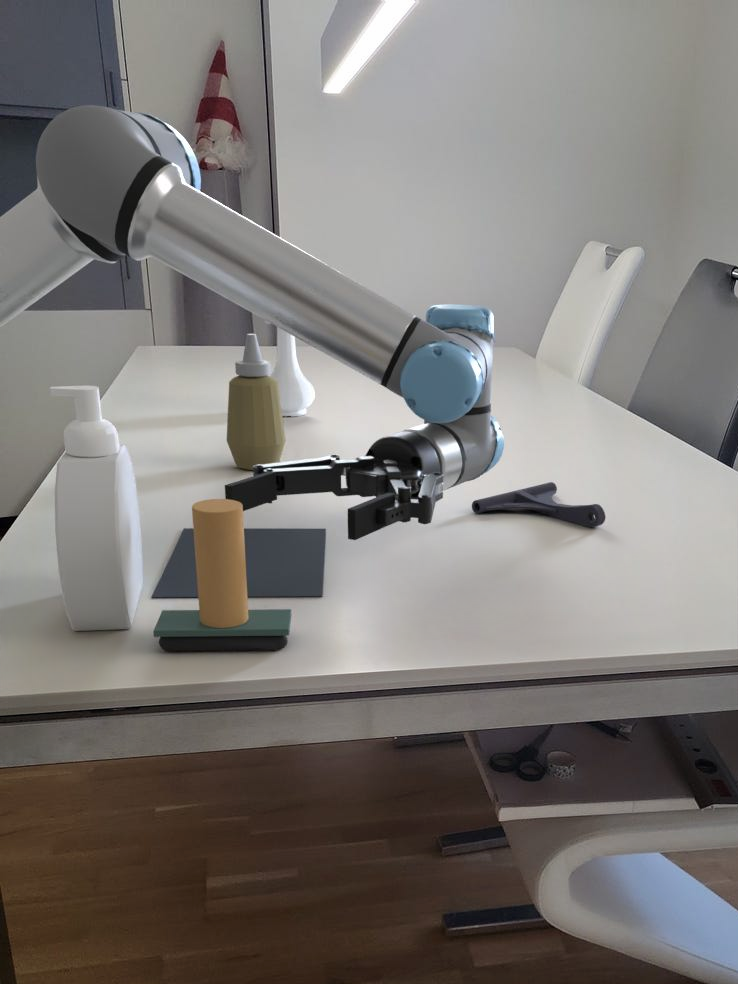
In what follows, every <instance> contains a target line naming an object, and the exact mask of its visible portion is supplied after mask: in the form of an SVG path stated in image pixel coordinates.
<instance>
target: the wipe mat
mask: <svg viewBox="0 0 738 984" xmlns="http://www.w3.org/2000/svg"><path fill="white" fill-rule="evenodd" d="M326 531H327V528H279V527H278V528H267V527H266V528H265V527H264V528H260V527H259V528H257V527H256V528H252V527H251V528H249V527H247V528H245V527H244V542H245V561H246V580H247V598H323V595H324V593H323V592H324V573H325V553H326V552H325V551H326V536H327V535H326V533H327V532H326ZM151 599H199V598H198V584H197V571H196V557H195V543H194V529H193V528H191V527H190V528H189V527H187V528H186V527H185V528H183V529H182V532H181V534H180V535H179V538H178V540H177V542H176V544H175V546H174V549H173V550H172V553H171V555H170V557H169V558H168V561H167V563H166V565H165V568H164V569H163V571H162V573H161V576H160V578H159V580H158V581H157V584H156V586H155V589H154V591H153V592H152V595H151Z"/></svg>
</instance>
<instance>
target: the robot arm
mask: <svg viewBox="0 0 738 984" xmlns="http://www.w3.org/2000/svg"><path fill="white" fill-rule="evenodd" d="M35 169H36V179H37V181H36V182H37V188H36V189H35V190H34V191H32V192H31V193H30V194H29V195H27V196H26V197H24V198H23V199H22V200H21V201H19V202H18V203H17V204H15V205H14V206H13V207H11V208H10V209H8V211H6V212H5V213H3V214H2V215H1V216H0V328H2V327H3V326H4V325H6V324H7V323H8V322H10V321H11V320H13V319H14V318H15V317H17V316H18V315H20V314H21V313H22V312H24V311H25V310H26V309H28V308H29V307H30V306H32V305H34V304H35V303H36V302H37V301H39V300H40V299H42V298H43V297H44V296H46V295H47V294H48V293H50V292H51V291H52V290H54V289H55V288H57V287H58V286H59V285H61V284H62V283H64V282H65V281H66V280H68V279H69V278H70V277H72V276H73V275H75V274H76V273H77V272H79V271H80V270H82V269H83V268H84V267H86V266H87V265H88V264H89V263H91V262H93V261H94V260H96V261H98V262H99V261H100V262H102V263H103V262H104V263H107V264H115V263H117V262H119V261H120V260H121V259H122V258H124V257H126V256H128V258H131V259H133V260H135V261H138V262H139V261H142V260H146V259H149V258H153V259H155V260H157V261H159V262H160V263H162V264H164V265H165V266H167V267H169V268H171V269H172V270H175V271H176V272H178V273H180V274H182V275H183V276H185V277H188V278H189V279H191V280H192V281H194V282H195V283H198V284H200V285H202V286H203V287H205V288H207V289H209V290H210V291H212V292H214V293H216V294H218V295H219V296H221V297H223V298H224V299H227V300H228V301H230V302H232V303H234V305H237V306H239V307H241V308H243V309H244V310H246V311H248V312H249V313H252V314H254V315H255V316H257V317H259V318H260V319H263V321H264V320H266V321H268V322H269V323H271V324H270V325H273V326H274V327H276V328H277V327H278V328H280V329H282V330H284V331H286V332H287V333H289V334H291V335H293V336H295V339H298V340H299V341H302V342H303V343H305V344H307V345H309V346H311V347H313V348H315V349H316V350H318V351H320V352H321V353H323V354H325V355H327V356H328V357H330V358H332V359H334V360H336V361H338V362H339V363H341V364H343V365H345V366H347V367H348V368H350V369H351V370H354V371H355V372H358V373H359V374H361V375H362V376H364V377H366V378H368V379H370V380H371V381H373V382H374V383H377V384H379V385H381V386H383V387H384V388H386V390H389V391H390V392H392V393H394V394H395V395H397V396H398V397H401V398H403V400H404V402H405V403H406V406H407V407H408V408H409V409H410V411H411V412H412V413H413V414H415V416H417V417H418V418H420V419H422V420H423V423H422V424H419V425H416V426H413V427H410V428H406V429H404V430H402V431H398V432H395V433H392V434H389V435H386V436H383V437H381V438H379V439H377V440H376V441H374V442H373V443H372V444H371V446H369V448H368V450H367V451H366V453H365V455H364V456H363V455H361V456H357V457H356V458H354V459H353V458H351V459H341V457H340V455H339V454H337V453H336V454H335V453H332V454H329V455H325V456H321V457H315V458H314V457H313V458H306V459H298V460H297V459H296V460H289V461H279V463H271V464H262V465H261V464H258V465H254V466H253V470H252V473H253V476H250V477H246V478H243V479H240V480H236V481H233V482H230V483H226V484H224V495H225V498H224V499H229V500H235V501H238V502H240V503H241V504H242V505H243V512H245V511H248V510H251V509H254V508H257V507H259V506H263V505H265V504H273V502H274V501H276V500H278V496H292V495H308V494H322V493H323V494H324V493H333V494H334V496H335V497H349V496H351V497H352V496H359V497H361V498H370V497H373V498H370V499H369V500H367V501H364V502H361V503H358V504H356V505H354V506H351V507H348V508H347V539H348V540H352V541H356V540H359V539H362V538H363V537H366V536H368V535H370V534H373V533H375V532H378V531H380V530H381V529H383V528H386V527H389V526H391V525H394V524H395V523H397V522H401V523H409V522H411V518H413V519H417V523H419V524H422V525H429V524H431V523H432V520H433V516H434V511H435V507H436V503H437V502H438V501H441V500H442V499H443V498H444V491H446V490H449V489H450V488H454V487H456V486H459V485H461V484H463V483H464V484H465V483H466V482H470V481H474V480H476V479H478V478H480V477H481V476H483V475H484V474H486V473H487V472H489V471H490V470H491V469H493V468H494V467H495V466H496V465H497V464H498V463H499V462H500V460H501V458H502V456H503V453H504V449H505V437H504V433H503V432H502V429H501V427H500V424H499V422H498V421H497V420H496V418H494V417H493V415H492V407H491V406H492V404H491V397H492V395H491V394H492V381H493V366H494V365H493V364H494V363H493V361H494V343H495V341H496V340H495V339H496V338H495V337H496V336H495V334H494V332H495V330H494V329H495V327H494V323H495V322H494V321H495V320H494V319H495V318H494V314H493V312H492V310H491V309H489V308H488V307H485V306H481V305H475V304H474V305H473V304H456V303H455V304H453V303H452V304H451V303H450V304H449V303H448V304H447V303H446V304H436V305H432V306H430V307H429V308H428V309H427V310H426V313H425V320H424V319H422V318H420V317H418V316H417V315H415V314H414V313H412V312H411V311H409V310H407V309H405V308H404V307H402V306H400V305H398V304H396V303H395V302H393V301H392V300H389V299H388V298H386V297H384V296H382V295H380V294H379V293H377V292H375V291H374V290H372V289H370V288H369V287H367V286H365V285H363V284H362V283H360V282H358V281H356V280H355V279H353V278H352V277H350V276H348V275H346V274H344V273H342V272H341V271H339V270H337V269H335V267H332V266H331V265H329V264H327V263H326V262H323V261H322V260H320V259H318V258H317V257H315V256H313V255H311V254H309V253H307V252H306V251H304V250H302V249H301V248H299V247H297V246H296V245H294V244H292V243H291V242H289V241H288V240H287V241H286V240H285V239H283V238H282V237H280V236H278V235H277V234H275V233H273V232H271V231H269V230H268V229H266V228H264V227H262V226H261V225H259V224H257V223H255V222H254V221H253V220H250V219H249V218H247V217H246V216H244V215H241V214H240V213H238V212H237V211H234V210H233V209H231V208H229V207H228V206H226V205H224V204H223V203H221V202H219V201H218V200H216V199H214V198H212V197H210V196H209V195H207V194H205V193H204V192H201V188H202V178H201V171H200V166H199V162H198V160H197V157H196V155H195V153H194V151H193V149H192V147H191V146H190V144H189V142H188V141H187V139H185V137H184V136H183V135H182V133H180V132H179V131H178V130H177V129H176V128H174V127H173V126H171V125H170V124H168V123H166V122H165V121H163V120H161V119H159V118H158V117H156V116H154V115H152V114H149V113H144V112H133V111H128V110H127V111H126V110H121V109H117V108H116V109H115V108H111V107H108V106H103V105H101V106H100V105H97V104H96V105H95V104H86V105H78V106H75V107H71V108H68V109H67V110H65V111H63V112H61V113H59V114H58V115H56V116H55V117H54V118H53V119H52V120H50V122H49V123H48V124H47V126H46V127H45V129H44V130H43V132H42V134H41V136H40V137H39V140H38V143H37V147H36V153H35ZM342 476H344V477H345V486H346V487H342Z"/></svg>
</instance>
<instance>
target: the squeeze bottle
mask: <svg viewBox="0 0 738 984" xmlns="http://www.w3.org/2000/svg"><path fill="white" fill-rule="evenodd" d="M234 367H235V374H236V376H234V377H233V378H232V379H230V380H229V382H228V400H227V419H226V420H227V421H226V422H227V424H226V443H227V446H228V448H229V450H230V454H231V456H232V458H233V461H234V463H235V465H236V467H237V468H240V469H242V470H243V469H244V470H250V471H253V466H254V465H258V464H261V465H262V464H271V463H279V462H281V458H282V454H283V451H284V448H285V444H286V441H287V440H286V433H285V425H284V419H283V416H282V410H281V403H280V396H279V388H278V382H277V381H276V380H275V379H273V378H272V377H270V376H271V375H272V373H271V362H270V361H268V360H263V358H262V353H261V349H260V345H259V341H258V337H257V334H256V333H246V337H245V345H244V349H243V356H242V359H240V360H237V361H235V362H234Z"/></svg>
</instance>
